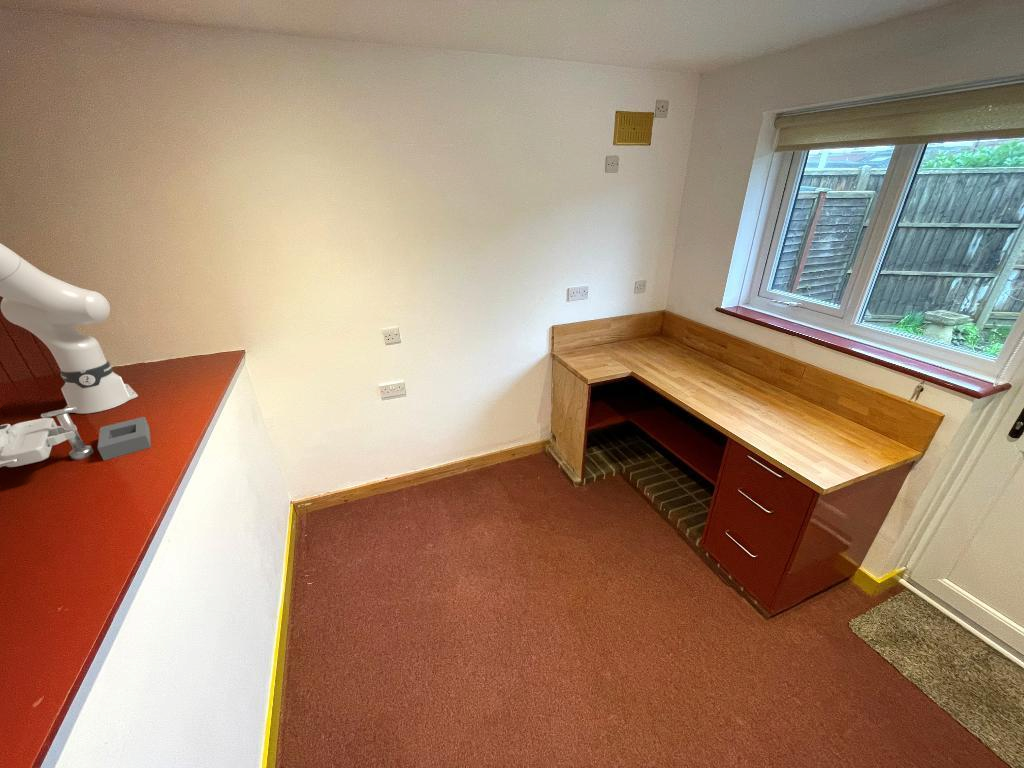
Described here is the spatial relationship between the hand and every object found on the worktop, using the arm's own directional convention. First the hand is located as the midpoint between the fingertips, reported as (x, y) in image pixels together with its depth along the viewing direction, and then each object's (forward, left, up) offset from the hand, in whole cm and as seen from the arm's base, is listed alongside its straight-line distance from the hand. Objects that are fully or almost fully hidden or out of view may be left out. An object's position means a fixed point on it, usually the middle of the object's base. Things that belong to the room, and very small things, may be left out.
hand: (75, 430), depth 112 cm
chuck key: (0, -1, -8) cm, 8 cm away
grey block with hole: (0, +9, -8) cm, 11 cm away
